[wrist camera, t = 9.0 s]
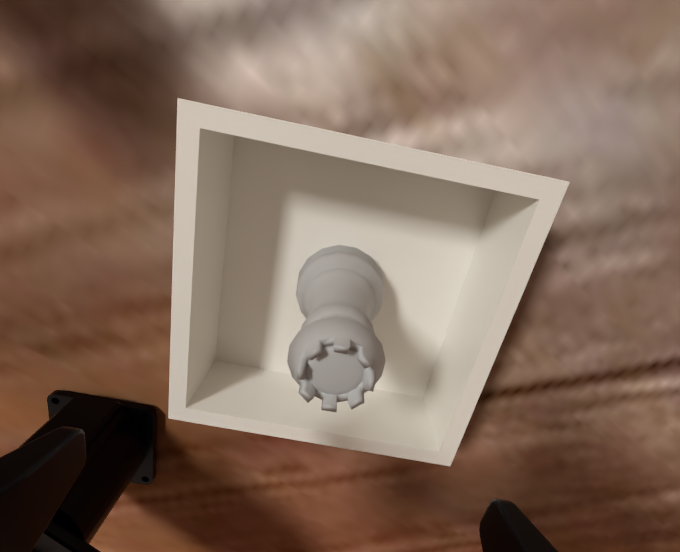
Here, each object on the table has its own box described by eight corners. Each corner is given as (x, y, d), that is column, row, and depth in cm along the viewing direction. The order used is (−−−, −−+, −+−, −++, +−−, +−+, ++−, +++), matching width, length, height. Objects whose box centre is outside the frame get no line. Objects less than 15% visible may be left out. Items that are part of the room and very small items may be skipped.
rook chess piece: (363, 332, 19) (374, 451, 11) (287, 305, 19) (245, 411, 11) (397, 260, 18) (433, 343, 10) (314, 229, 17) (288, 292, 10)
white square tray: (430, 403, 21) (450, 466, 17) (205, 363, 21) (168, 418, 16) (513, 173, 16) (569, 181, 12) (223, 111, 16) (177, 97, 12)
